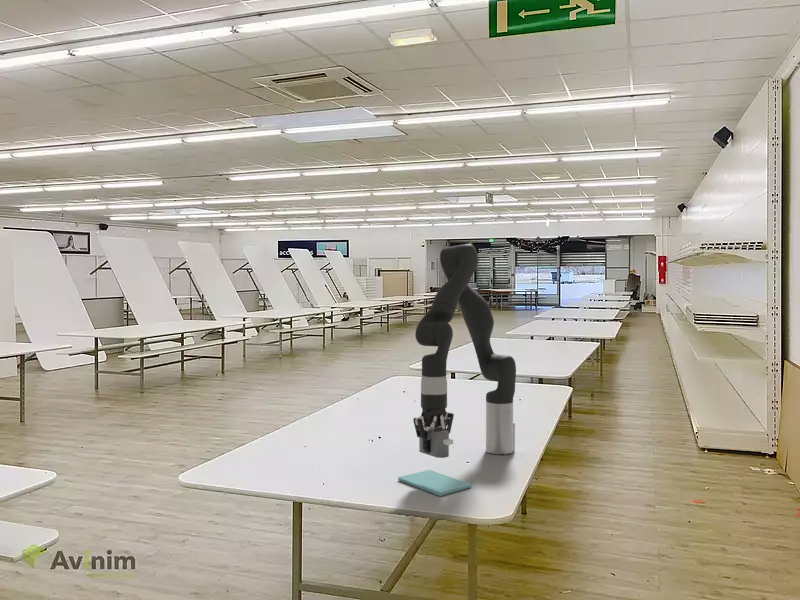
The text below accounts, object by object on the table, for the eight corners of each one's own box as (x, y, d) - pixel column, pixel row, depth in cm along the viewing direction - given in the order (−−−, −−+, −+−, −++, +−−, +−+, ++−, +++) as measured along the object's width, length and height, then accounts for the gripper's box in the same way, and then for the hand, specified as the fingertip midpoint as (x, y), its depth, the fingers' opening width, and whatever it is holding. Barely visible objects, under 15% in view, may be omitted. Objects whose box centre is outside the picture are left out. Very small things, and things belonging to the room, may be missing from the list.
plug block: (427, 448, 183) (427, 424, 183) (456, 457, 173) (456, 432, 173) (416, 450, 180) (416, 427, 180) (444, 460, 171) (444, 434, 171)
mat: (429, 472, 188) (429, 469, 188) (471, 487, 174) (471, 484, 174) (398, 480, 181) (398, 477, 181) (440, 496, 167) (440, 493, 167)
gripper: (443, 387, 184) (443, 444, 185) (406, 392, 176) (406, 452, 176) (461, 390, 179) (460, 449, 179) (423, 395, 170) (423, 458, 170)
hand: (433, 450), depth 177 cm, fingers closed on plug block, 4 cm apart
